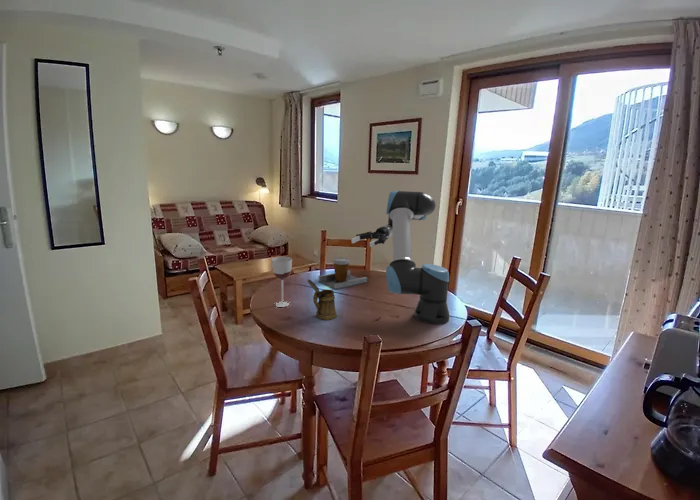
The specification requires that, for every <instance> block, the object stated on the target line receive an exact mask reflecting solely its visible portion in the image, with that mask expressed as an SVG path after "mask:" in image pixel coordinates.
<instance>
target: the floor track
mask: <svg viewBox="0 0 700 500" xmlns="http://www.w3.org/2000/svg"><path fill="white" fill-rule="evenodd" d="M317 280H318V283H320V284H321V285H324V286H327V287H329V288H330V289H333V290H334V291H337V290H341V289H346V288H350V287H355V286H360V285H364V284H367V283H368V277H367V276H363V277H356V276H354V275H352V274H351V270H348V273H347V279H346V280H345V281H337V280H336V279H335V272H334V273H329V274H324V275H323V274H322V275H319V276H318V279H317Z"/></svg>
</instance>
